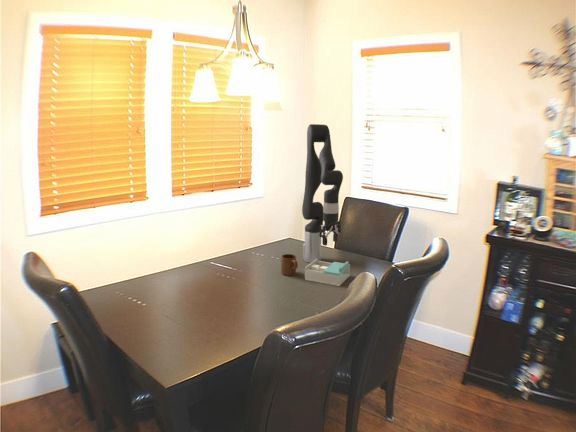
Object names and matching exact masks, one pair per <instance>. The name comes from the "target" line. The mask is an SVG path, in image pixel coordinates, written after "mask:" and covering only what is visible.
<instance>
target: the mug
mask: <svg viewBox="0 0 576 432" xmlns="http://www.w3.org/2000/svg"><path fill="white" fill-rule="evenodd" d="M280 260H281V261H280V263H281V264H280V265H281V266H280V267H281V269H280V270H281V271H280V273H281V275H283V276H286V277H287V276H288V277H290V276H291V277H292V276H294V275H295V274H296V273H297V269H298V266H299V265H298V262H297V257H296V255H294V254H291V253H288V254H287V253H286V254H282V255H281V259H280Z"/></svg>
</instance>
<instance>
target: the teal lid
mask: <svg viewBox="0 0 576 432" xmlns="http://www.w3.org/2000/svg"><path fill="white" fill-rule="evenodd" d="M331 263H332V264H331V265H330V266H329V267H328V268H326V269H325V270H324V271H323V272H324V273H329V274H335V275H341V274H342V273H343V272H344V271H345V270H346V269H347V268H348V267H349V266H350V267H351V264H350V261H345V262H338V261H333V262H331Z"/></svg>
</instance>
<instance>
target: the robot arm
mask: <svg viewBox="0 0 576 432" xmlns="http://www.w3.org/2000/svg"><path fill="white" fill-rule="evenodd" d="M306 131H307V132H306V165H305V176H304V177H305V181H304V182H305V183H304V193H303V200H302V208H301V213H302V217H303V219H304V220H306V221H310V222H309V223H307V224H305V226H304V243H303V244H302V245H303V246H302V261H305V262H307V263H309V264H310V263H311V262H313V261H314V260H315V259H318V260H317V261H322V259H321V258H322V256H321V255H322V246H328V236H329V235H330V234H331V233H332V238H333V239H332V242H334V243H338V240H339V239H338V238H339V237H338V236H339V234H340V233H341V231H342V225H341V224H342V222H341V220H339V213H340V211H339V209H340V207H339V198H340V197H339V195H340V191H341V187H342V183H343V181H344V175H343V173H342V171H341V170H338V169H336V162H335V159H334V155H333V150H332V142H331V133H330V128H329V126H328V125H327V124H316V123H314V124H311V123H310V124H308V127H307V130H306ZM315 143H323V146H322V148H321V150H320V152H319V154H317V152H316V149H315ZM318 155H319V156H318ZM321 183H322V185H324V186H332V188H330V189H326V190H324V192H323V204H322V203H321V201H314V197H315V195H316V192H317V191H318V189H319V188H320V185H321Z"/></svg>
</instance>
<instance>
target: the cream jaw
mask: <svg viewBox="0 0 576 432" xmlns="http://www.w3.org/2000/svg"><path fill="white" fill-rule="evenodd" d="M326 268H328V267H326V266H321V267H320V268H319V271H320V272H323V271H324V270H325V269H326Z"/></svg>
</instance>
